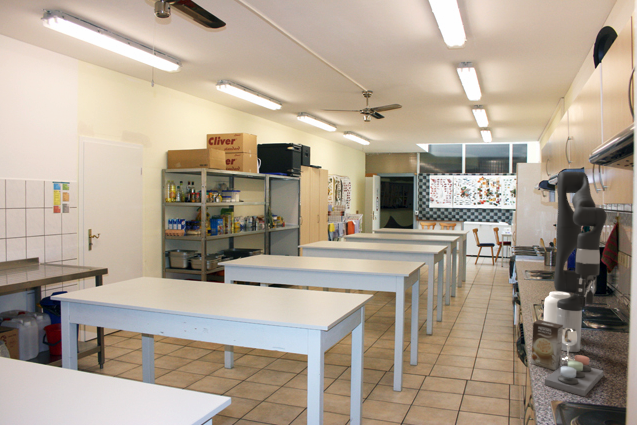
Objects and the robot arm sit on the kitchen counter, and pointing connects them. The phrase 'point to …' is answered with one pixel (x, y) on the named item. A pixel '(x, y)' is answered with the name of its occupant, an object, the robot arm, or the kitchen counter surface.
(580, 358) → the brick button
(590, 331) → the kitchen counter surface
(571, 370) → the white button
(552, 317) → the white bottle
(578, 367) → the sage button
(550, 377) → the panel
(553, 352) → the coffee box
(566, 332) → the wineglass
